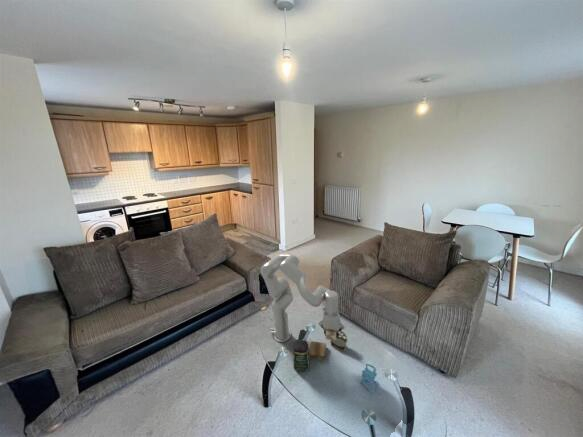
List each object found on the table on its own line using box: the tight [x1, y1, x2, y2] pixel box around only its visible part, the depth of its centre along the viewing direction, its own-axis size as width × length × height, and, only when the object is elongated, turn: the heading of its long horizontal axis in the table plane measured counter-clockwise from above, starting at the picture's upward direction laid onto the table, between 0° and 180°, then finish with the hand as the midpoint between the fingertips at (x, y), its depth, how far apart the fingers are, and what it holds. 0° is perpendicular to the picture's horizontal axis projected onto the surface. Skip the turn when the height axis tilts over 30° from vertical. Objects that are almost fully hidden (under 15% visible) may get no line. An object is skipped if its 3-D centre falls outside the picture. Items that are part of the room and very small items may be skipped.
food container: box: [330, 330, 348, 352], centre depth 160 cm, size 12×6×10 cm, turn 58°
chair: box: [360, 363, 379, 394], centre depth 134 cm, size 8×8×12 cm
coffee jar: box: [292, 339, 310, 372], centre depth 146 cm, size 10×8×19 cm
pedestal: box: [308, 340, 327, 361], centre depth 157 cm, size 10×10×4 cm
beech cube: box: [325, 329, 336, 341], centre depth 145 cm, size 6×6×6 cm
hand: (331, 334), depth 146 cm, fingers closed on beech cube, 6 cm apart
